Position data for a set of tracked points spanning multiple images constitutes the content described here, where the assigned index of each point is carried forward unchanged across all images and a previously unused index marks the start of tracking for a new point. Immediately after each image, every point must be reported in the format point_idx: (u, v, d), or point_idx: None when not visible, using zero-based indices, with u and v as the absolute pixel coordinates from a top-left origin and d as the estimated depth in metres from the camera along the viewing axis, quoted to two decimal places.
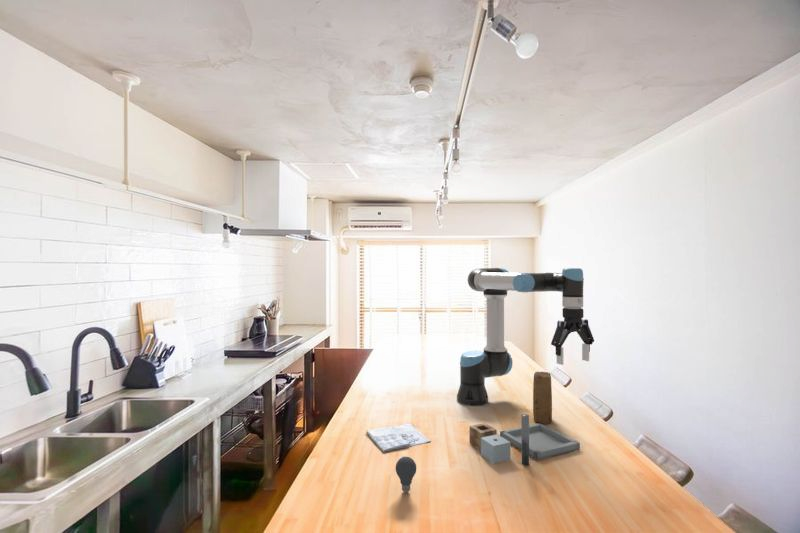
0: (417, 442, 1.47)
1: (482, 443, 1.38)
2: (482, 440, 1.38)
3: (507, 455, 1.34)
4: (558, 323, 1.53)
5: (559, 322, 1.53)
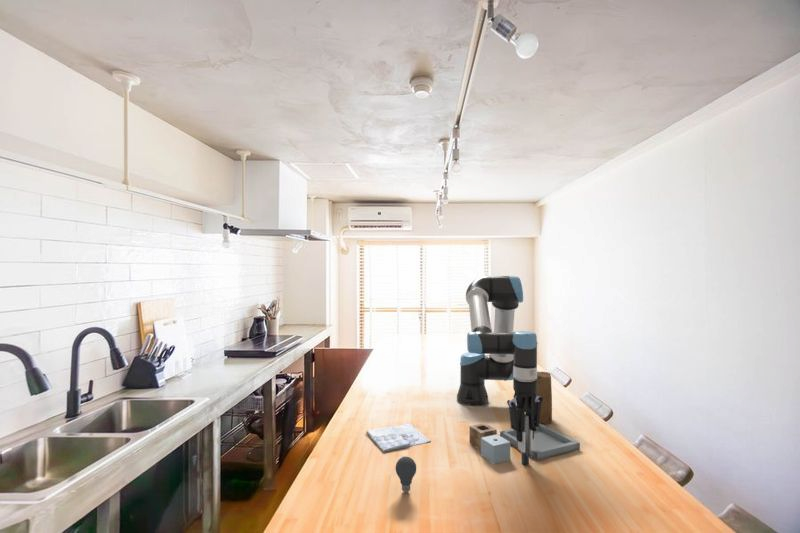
0: (417, 442, 1.47)
1: (482, 443, 1.38)
2: (482, 440, 1.38)
3: (507, 455, 1.34)
4: (508, 404, 1.30)
5: (509, 404, 1.29)
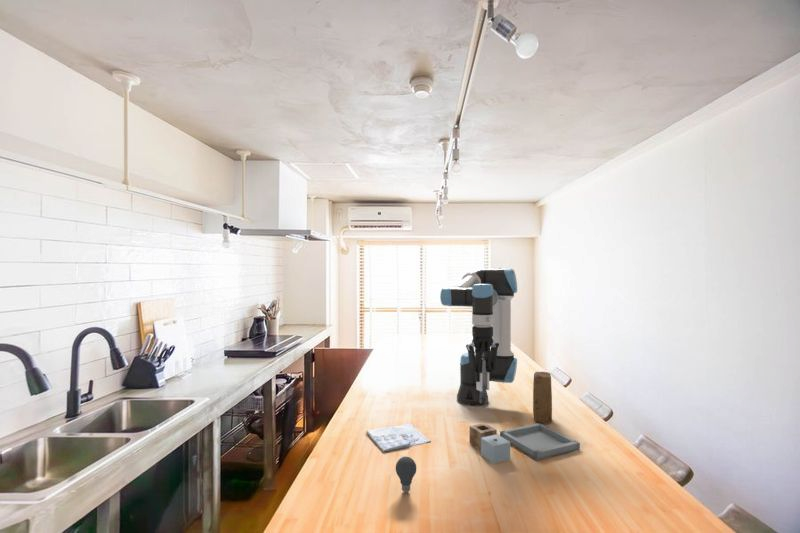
0: (417, 442, 1.47)
1: (482, 443, 1.38)
2: (482, 440, 1.38)
3: (507, 455, 1.34)
4: (467, 348, 1.45)
5: (467, 347, 1.44)
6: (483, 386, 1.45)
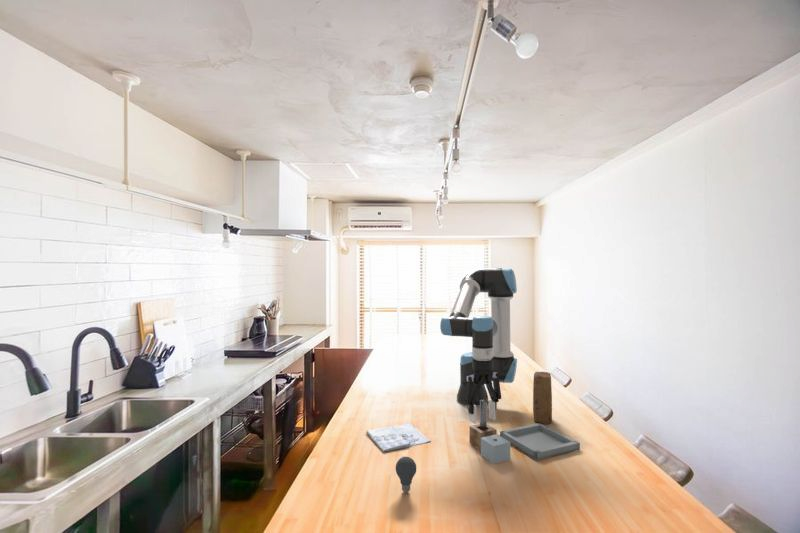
0: (417, 442, 1.47)
1: (482, 443, 1.38)
2: (482, 440, 1.38)
3: (507, 455, 1.34)
4: (466, 379, 1.44)
5: (467, 378, 1.44)
6: (483, 428, 1.45)
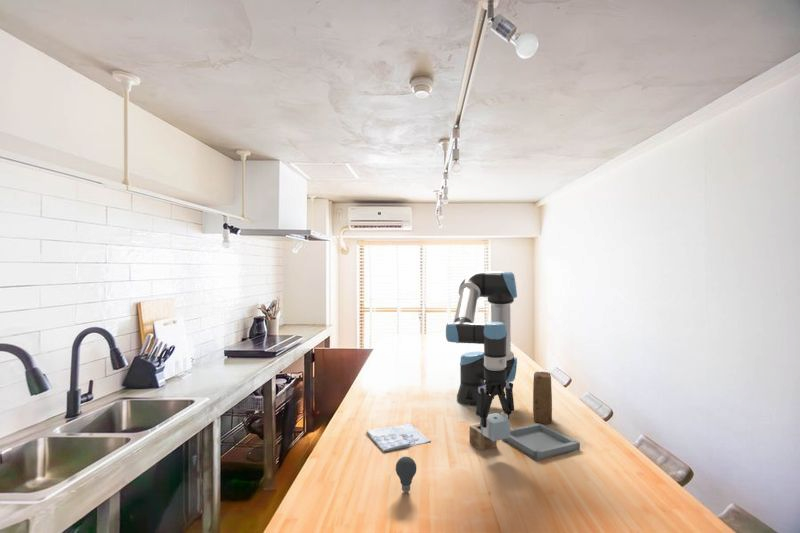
0: (417, 442, 1.47)
1: None
2: None
3: (507, 433, 1.35)
4: (478, 390, 1.35)
5: (478, 389, 1.34)
6: None
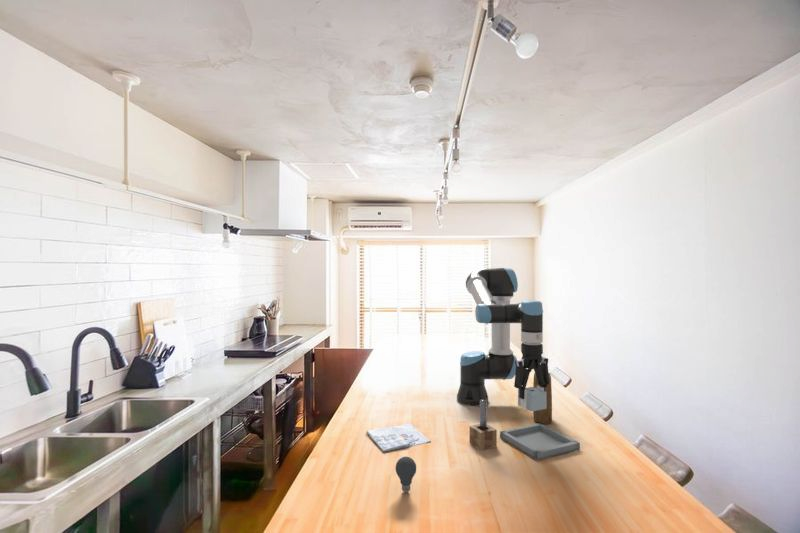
0: (417, 442, 1.47)
1: None
2: None
3: (544, 404, 1.44)
4: (516, 363, 1.44)
5: (517, 362, 1.43)
6: (483, 428, 1.46)
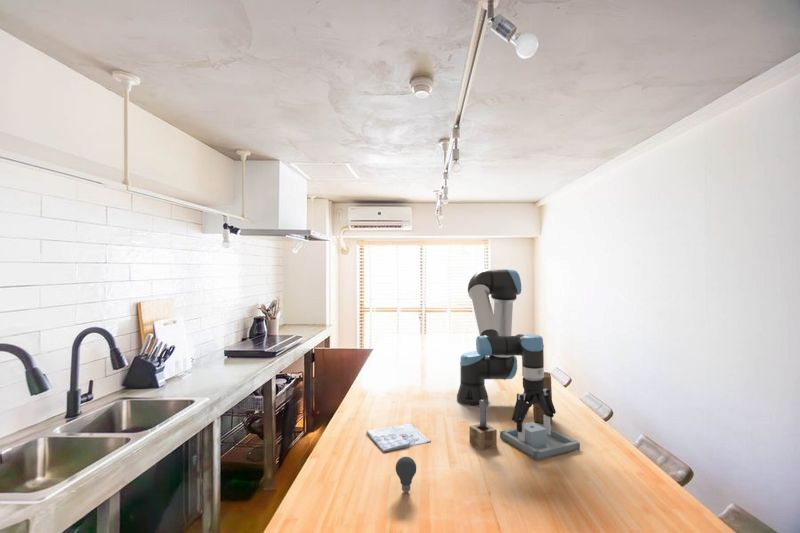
0: (417, 442, 1.47)
1: None
2: None
3: (543, 441, 1.44)
4: (517, 397, 1.44)
5: (518, 396, 1.44)
6: (483, 428, 1.45)
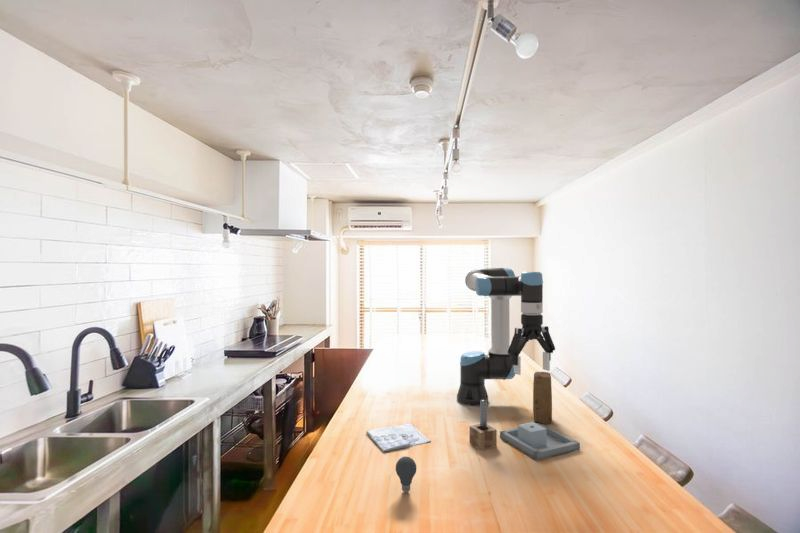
0: (417, 442, 1.47)
1: (519, 430, 1.47)
2: (519, 427, 1.47)
3: (543, 441, 1.44)
4: (515, 330, 1.44)
5: (516, 329, 1.43)
6: (484, 428, 1.46)
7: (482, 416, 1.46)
